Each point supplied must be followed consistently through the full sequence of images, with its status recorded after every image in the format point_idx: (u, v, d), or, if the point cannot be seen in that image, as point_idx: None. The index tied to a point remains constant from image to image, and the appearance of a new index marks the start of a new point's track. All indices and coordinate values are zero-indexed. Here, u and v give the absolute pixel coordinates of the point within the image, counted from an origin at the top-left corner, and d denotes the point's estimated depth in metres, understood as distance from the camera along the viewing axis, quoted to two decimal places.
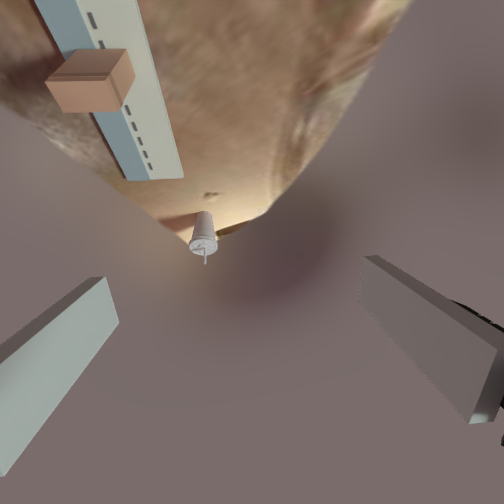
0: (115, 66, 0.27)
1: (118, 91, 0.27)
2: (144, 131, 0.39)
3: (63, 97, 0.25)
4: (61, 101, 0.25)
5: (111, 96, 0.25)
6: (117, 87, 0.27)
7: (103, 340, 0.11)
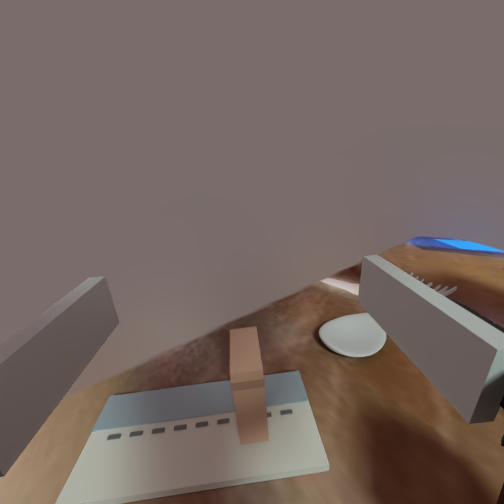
0: (264, 402, 0.22)
1: (244, 390, 0.22)
2: (170, 441, 0.26)
3: (243, 333, 0.26)
4: (239, 331, 0.26)
5: (246, 371, 0.21)
6: (248, 391, 0.22)
7: (103, 340, 0.11)
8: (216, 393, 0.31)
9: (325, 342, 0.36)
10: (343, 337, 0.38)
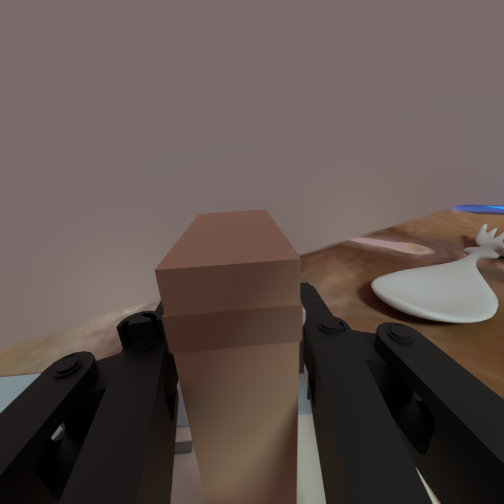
0: (294, 402, 0.06)
1: (222, 352, 0.06)
2: None
3: (233, 215, 0.10)
4: (223, 214, 0.10)
5: (230, 265, 0.05)
6: (235, 358, 0.06)
7: None
8: None
9: (390, 299, 0.20)
10: (415, 297, 0.22)
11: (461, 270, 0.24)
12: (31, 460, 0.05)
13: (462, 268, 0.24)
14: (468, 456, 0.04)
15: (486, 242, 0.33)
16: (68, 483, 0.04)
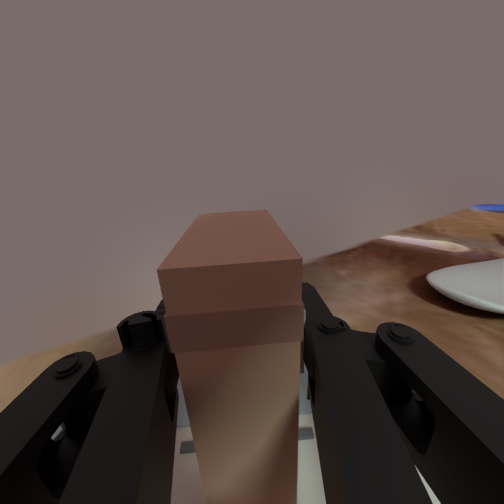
0: (295, 402, 0.06)
1: (223, 352, 0.06)
2: None
3: (233, 215, 0.10)
4: (223, 214, 0.10)
5: (232, 264, 0.05)
6: (237, 357, 0.06)
7: None
8: None
9: (454, 293, 0.20)
10: (473, 291, 0.22)
11: None
12: (31, 460, 0.05)
13: None
14: (468, 456, 0.04)
15: None
16: (68, 483, 0.04)
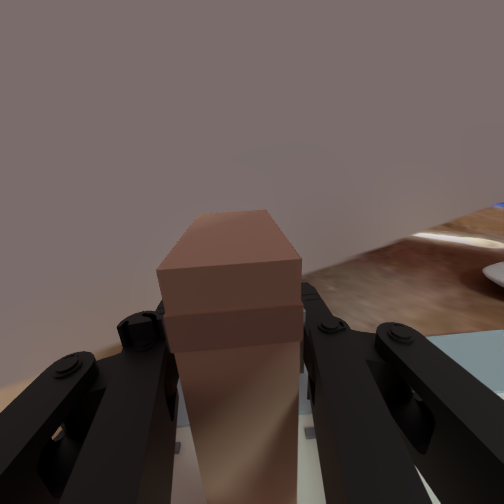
0: (295, 402, 0.06)
1: (223, 352, 0.06)
2: (309, 466, 0.10)
3: (233, 216, 0.10)
4: (223, 214, 0.10)
5: (231, 265, 0.05)
6: (236, 358, 0.06)
7: None
8: None
9: None
10: None
11: None
12: (31, 460, 0.05)
13: None
14: (468, 456, 0.04)
15: None
16: (68, 483, 0.04)
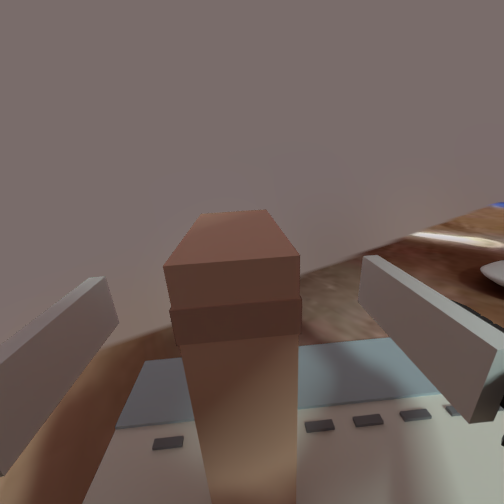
0: (294, 393, 0.07)
1: (225, 344, 0.06)
2: (309, 458, 0.10)
3: (234, 215, 0.10)
4: (224, 214, 0.10)
5: (233, 261, 0.05)
6: (238, 350, 0.06)
7: (103, 340, 0.11)
8: (361, 360, 0.15)
9: None
10: None
11: None
12: None
13: None
14: None
15: None
16: None
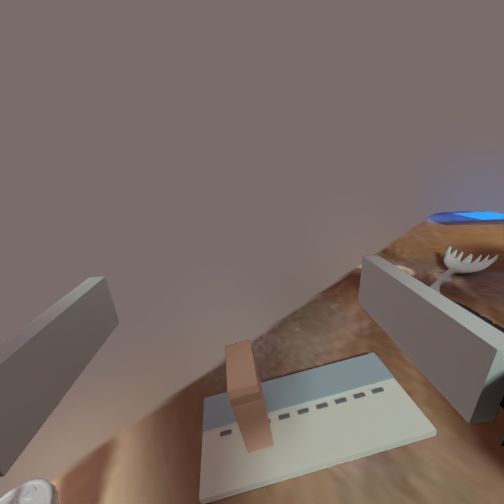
0: (264, 412, 0.24)
1: (243, 404, 0.23)
2: (280, 429, 0.28)
3: (238, 348, 0.27)
4: (234, 346, 0.27)
5: (242, 387, 0.22)
6: (247, 405, 0.23)
7: (103, 340, 0.11)
8: (304, 382, 0.33)
9: None
10: None
11: None
12: None
13: None
14: None
15: (450, 262, 0.52)
16: None
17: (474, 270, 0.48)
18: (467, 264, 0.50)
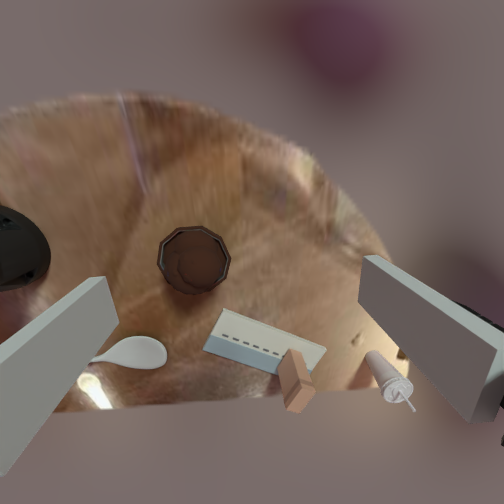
0: (296, 369, 0.47)
1: (307, 380, 0.45)
2: (281, 350, 0.53)
3: (294, 408, 0.44)
4: (295, 410, 0.45)
5: (308, 390, 0.43)
6: (305, 378, 0.45)
7: (103, 340, 0.11)
8: (252, 360, 0.53)
9: (166, 357, 0.50)
10: (149, 353, 0.51)
11: (112, 355, 0.49)
12: None
13: (110, 356, 0.49)
14: None
15: None
16: None
17: None
18: None
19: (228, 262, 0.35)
